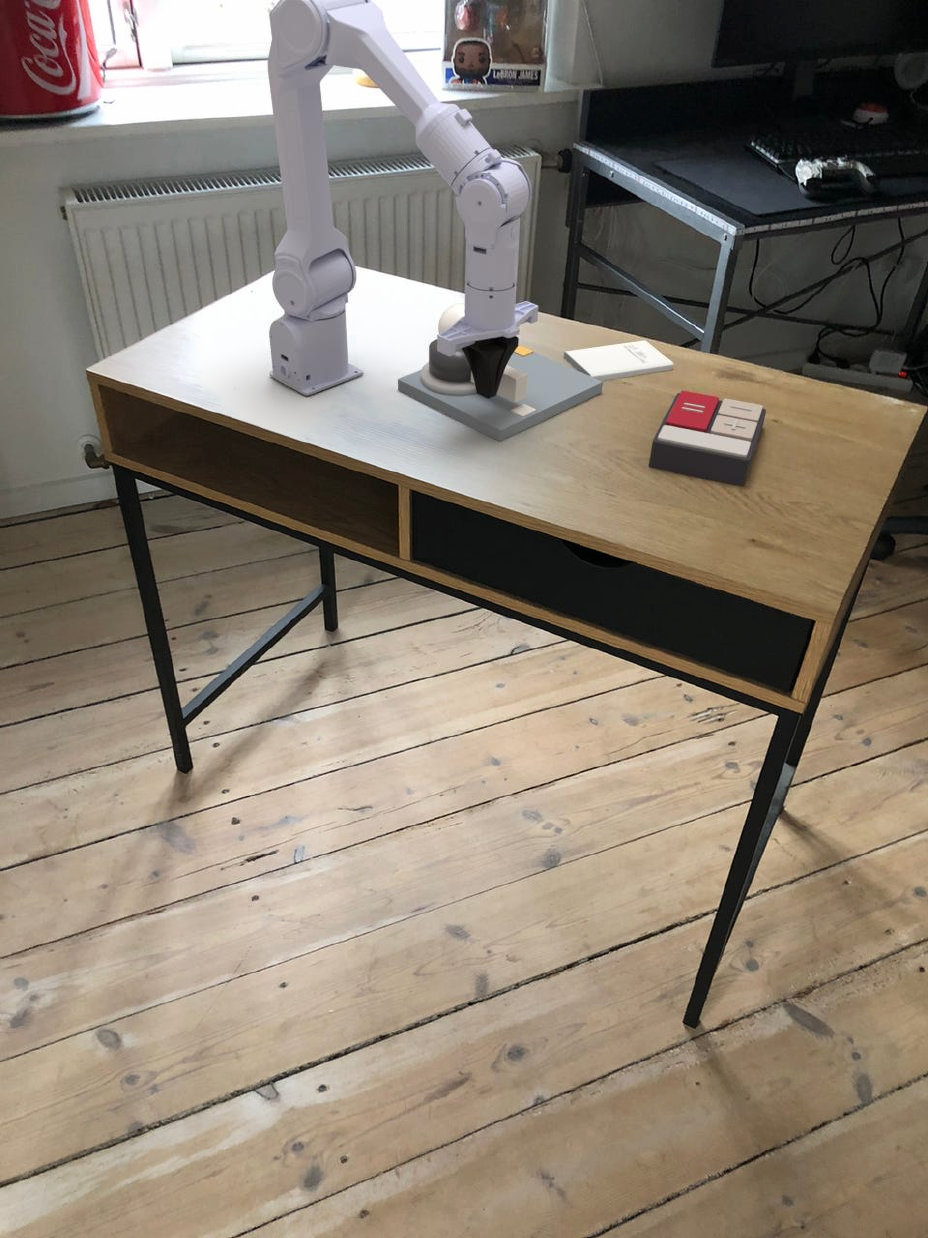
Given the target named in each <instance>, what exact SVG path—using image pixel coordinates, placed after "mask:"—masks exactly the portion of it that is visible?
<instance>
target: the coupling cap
mask: <svg viewBox="0 0 928 1238" xmlns="http://www.w3.org/2000/svg"><path fill="white" fill-rule="evenodd" d="M428 362H429V372H430V373H431V375H432V376H434V377H436V378H438V379H440V380H443V381H448V382H468V381H471V382H473V383H474V378H473V374H472V371H471V368H470V365H469V363H468V360H467V358H466V356H465V354H464V352H463V350H462V349H459V350H456V351H455V355H452V356H450V357H449V356H447V355H444V354H442V353H440V352H438V351H437V338H436V339H434V340H433V341H432V342H430V343H429V345H428ZM527 378H528V374H526V373H523V372H521V371H519V370H517V369H514V368H512V367H510V366H508V365H506V368H505V370H504V373H503V376H502V378H501V382H500V385H499V388H498V391H497V394H498V395H500V396H502V397H504V398H506V399H509V400H511V401H513V402H517V401H519V400H522V399H524V398H526V392H527Z"/></svg>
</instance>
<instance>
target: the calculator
mask: <svg viewBox="0 0 928 1238" xmlns="http://www.w3.org/2000/svg"><path fill="white" fill-rule="evenodd" d="M766 414H767V409H766V408H763V405H762V404H758V403H753V402H747V401H741V400H735V399H731V398H724V399H723V400H720V397H718V396H714V395H709V394H703V393H699V392H698V393H697V392H694V391H687V390H680V392H677V393H676V395H675V397H674V399H673V400H672V403H671V405H670V406H669V409H668V410H667V412H666V414H665V416H664V418H663V420H662V422H661V424H660V425H659V427H658V430H657V432H656V433H655V434H654V435H655V436H654V437H653V440H652V442H651V443H652V444H651V450H650V455H649V460H648V461H649V462H648V467H649V468H650V469H654V470H658V471H663V472H668V473H673V474H678V475H682V476H686V477H687V476H689V477H693V478H697V479H702V480H707V481H712V482H716V483H721V484H727V485H731V486H736V487H744V486H745V484H746V481H747V478H748V474H749V472H750V468H751V464H752V462H753V459H754V455H755V452H756V451H757V450H756V449H757V446H758V443H759V440H760V437H761V432H762V430H763V426H764V421H765V418H766Z"/></svg>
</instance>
